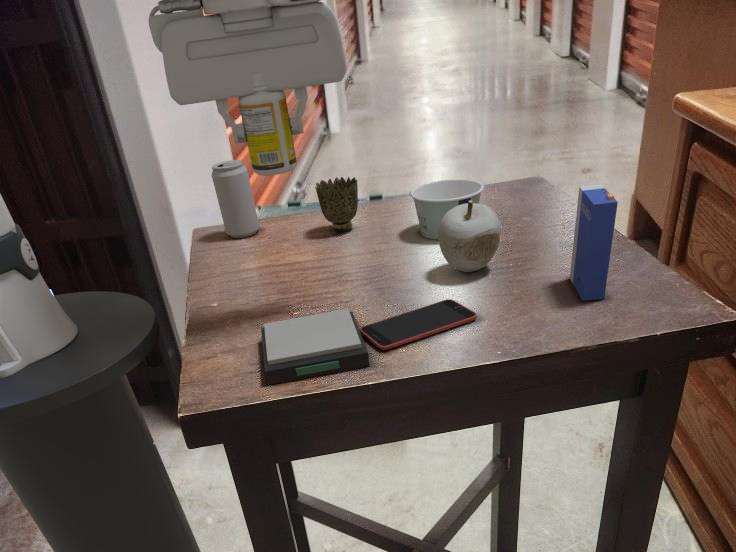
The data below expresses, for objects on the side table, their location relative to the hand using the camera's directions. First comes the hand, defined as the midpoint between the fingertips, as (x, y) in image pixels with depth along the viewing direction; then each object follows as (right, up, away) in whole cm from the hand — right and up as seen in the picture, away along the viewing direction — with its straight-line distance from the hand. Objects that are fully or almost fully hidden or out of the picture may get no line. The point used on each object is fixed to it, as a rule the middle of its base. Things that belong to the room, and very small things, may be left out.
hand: (269, 137), depth 74 cm
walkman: (+41, -16, +7) cm, 44 cm away
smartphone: (+18, -22, +4) cm, 29 cm away
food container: (+25, +2, +31) cm, 40 cm away
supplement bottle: (0, -3, +3) cm, 4 cm away
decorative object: (+27, -10, +17) cm, 33 cm away
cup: (+7, +5, +38) cm, 39 cm away
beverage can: (-12, +7, +42) cm, 45 cm away
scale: (+5, -25, +2) cm, 26 cm away
